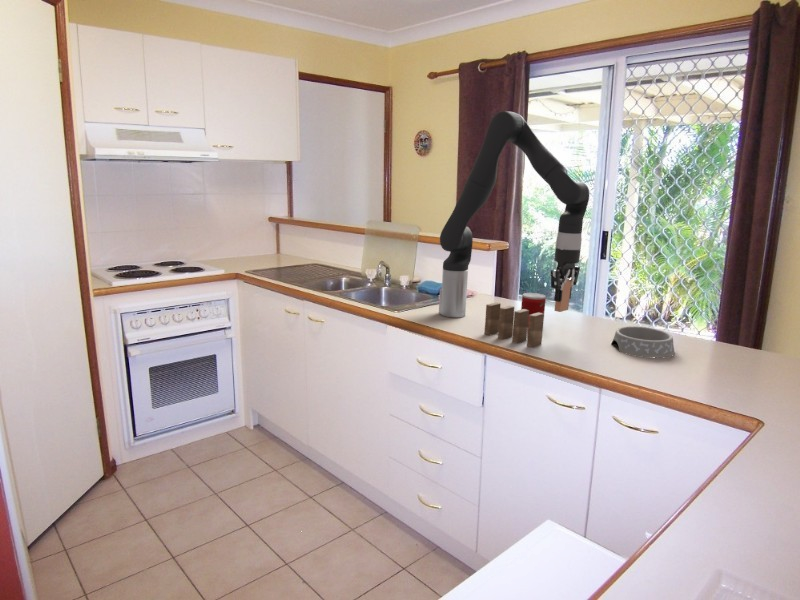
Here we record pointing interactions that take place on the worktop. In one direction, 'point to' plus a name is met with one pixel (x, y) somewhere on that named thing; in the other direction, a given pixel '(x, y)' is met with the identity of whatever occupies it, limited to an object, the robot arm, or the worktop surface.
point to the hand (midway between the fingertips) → (562, 299)
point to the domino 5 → (564, 297)
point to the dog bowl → (644, 342)
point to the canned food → (533, 303)
